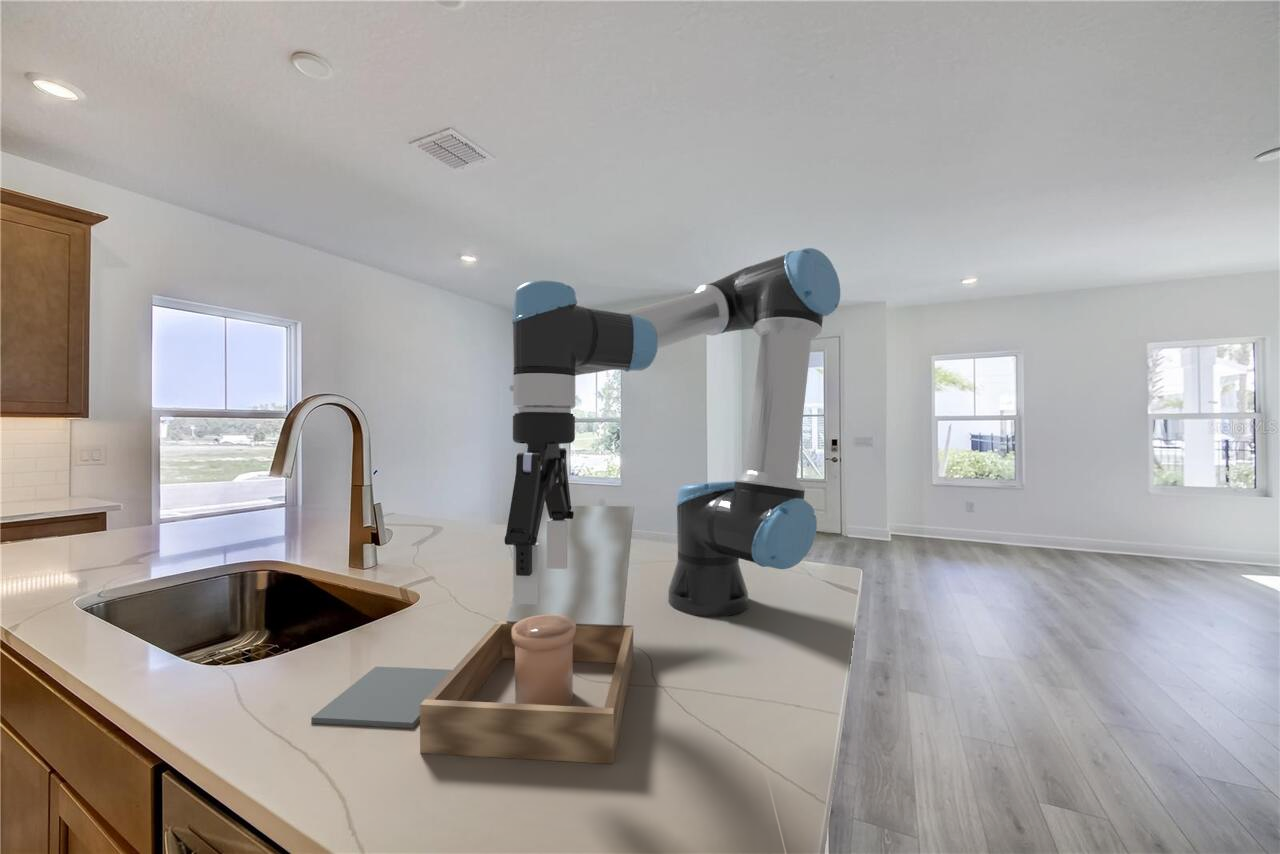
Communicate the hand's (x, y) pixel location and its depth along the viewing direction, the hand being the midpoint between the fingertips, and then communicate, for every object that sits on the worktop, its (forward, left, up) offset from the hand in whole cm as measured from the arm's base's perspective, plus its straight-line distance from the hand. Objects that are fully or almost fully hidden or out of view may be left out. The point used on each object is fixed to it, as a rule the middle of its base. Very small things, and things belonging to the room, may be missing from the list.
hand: (543, 583), depth 61 cm
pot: (0, 0, -14) cm, 14 cm away
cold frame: (0, -8, -14) cm, 16 cm away
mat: (+19, +1, -14) cm, 24 cm away
